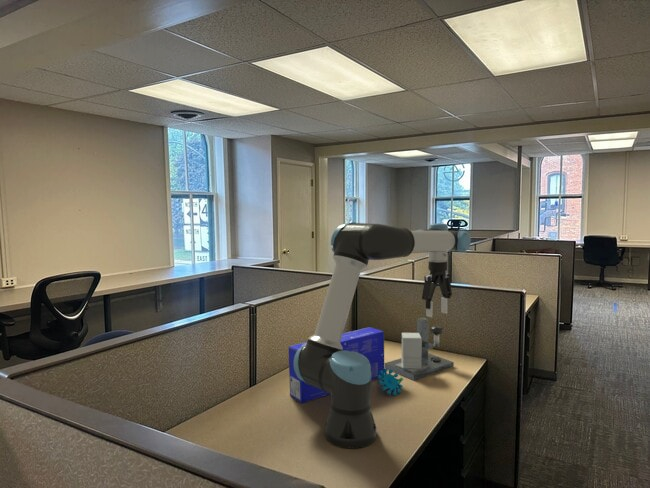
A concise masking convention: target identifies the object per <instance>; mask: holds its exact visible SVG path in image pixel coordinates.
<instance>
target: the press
mask: <svg viewBox="0 0 650 488" xmlns="http://www.w3.org/2000/svg"><path fill="white" fill-rule="evenodd" d="M429 319H430V318H427V317H420V318H419V317H418V318H417V319H416V333H419V334H420V336H421V338H422V353H421V369H409V368H403V365H402V361H401V358H402V357H400V358H397V359H394V360H391V361H387V362H384V369H385V368H386V369H388V371H389V370H390V369H391V370H392V371H393V373H394V374H395V373H397V374H398V375H400V376H402V377H403V378H404V377H405V378H406V379H408V380H412V381H417V380H420V379H422V378H425V377H428V376H431V375H434V374H437V373H440V372H442V371H446V370H449V369H451V368H453V367H455V365H454V361H452V360H448V359H447V358H444V357H441V356H438V355H435V354H432V353H429V350H433V349H434V346H433V343H431V342H429V331H430V330H429V326H430V323H429V322H430V320H429Z"/></svg>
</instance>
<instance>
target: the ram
mask: <svg viewBox="0 0 650 488" xmlns="http://www.w3.org/2000/svg"><path fill="white" fill-rule="evenodd" d="M443 330H444V327H443V326H440V325H432V326H430V330H429V331H430V333H431V334H433V342H432V344H433V348H434V347H435V348H439V347H440V334H443Z"/></svg>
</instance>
